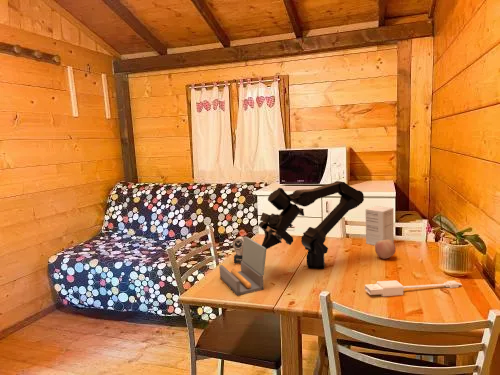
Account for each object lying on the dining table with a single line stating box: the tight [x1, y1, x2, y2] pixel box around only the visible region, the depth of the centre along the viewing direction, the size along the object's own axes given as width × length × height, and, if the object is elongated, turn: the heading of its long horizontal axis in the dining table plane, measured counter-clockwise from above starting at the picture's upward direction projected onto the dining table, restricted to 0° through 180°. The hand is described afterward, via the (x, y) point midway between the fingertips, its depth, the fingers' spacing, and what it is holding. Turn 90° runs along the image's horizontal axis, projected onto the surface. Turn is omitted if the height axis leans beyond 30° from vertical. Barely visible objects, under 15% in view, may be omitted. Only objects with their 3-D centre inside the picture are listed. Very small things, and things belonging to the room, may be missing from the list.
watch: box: [232, 236, 246, 264], centre depth 154 cm, size 6×8×11 cm
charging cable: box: [364, 280, 463, 297], centre depth 118 cm, size 5×32×3 cm, turn 96°
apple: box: [374, 239, 396, 260], centre depth 149 cm, size 8×8×8 cm
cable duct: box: [219, 261, 265, 297], centre depth 132 cm, size 10×18×5 cm, turn 23°
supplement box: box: [365, 205, 395, 246], centre depth 168 cm, size 10×9×17 cm
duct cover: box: [242, 236, 268, 276], centre depth 133 cm, size 10×18×1 cm
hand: (261, 250), depth 134 cm, fingers closed
